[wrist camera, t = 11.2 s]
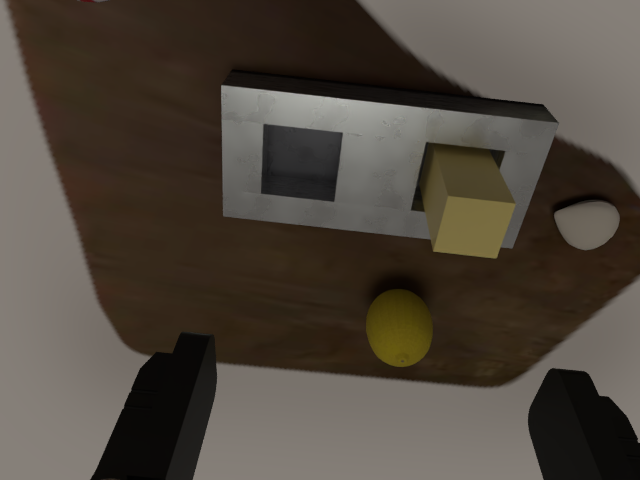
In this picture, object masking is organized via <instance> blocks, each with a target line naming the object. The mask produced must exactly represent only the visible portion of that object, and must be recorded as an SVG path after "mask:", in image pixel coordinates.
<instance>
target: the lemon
mask: <svg viewBox="0 0 640 480" xmlns="http://www.w3.org/2000/svg"><path fill="white" fill-rule="evenodd" d="M366 332H367V336H368V339H369V343H370V345H371V348H372V350H373V351H374V352H375V354H376V355H377V356H378V357H379V358H380V359H381V360H382V361H384V362H385V363H387V364H389V365H393V366H399V367H403V366H409V365H413V364H414V363H416V362H418V361H419V360H421V359H422V358H423V357H424V356H425V354H426V353H427V351H428V350H429V347H430V344H431V340H432V334H433V327H432V318H431V315H430V312H429V310H428V307H427V306H426V304H425V303H424V302H423V300H422V299H421V298H420V297H419V296H417V295H416V294H414V293H413V292H410V291H408V290H404V289H392V290H388V291H386V292H383V293H382V294H380V295H379V296H378V297H377V298H376V299H375V300H374V301H373V302H372V304H371V306H370V308H369V311H368V313H367V318H366Z"/></svg>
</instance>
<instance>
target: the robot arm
mask: <svg viewBox="0 0 640 480" xmlns="http://www.w3.org/2000/svg"><path fill="white" fill-rule="evenodd" d="M216 384H217V369H216V354H215V339H214V335H213V334H202V333H192V332H182V333H181V334H180V336H179V338H178V340H177V343H176V346H175V348H174V351H173V354H172V353H161V352H156V353H155V354H154V355H153V356H152V357H151V358H150V359H149V360H148V361H147V362H146V363H145V364H144V365H143V366H142V367H141V368H140V370H139V372H138V375H137V377H136V379H135V381H134V384H133V386H132V391H131V392H130V393H129V395H128V398H127V400H126V402H125V405H124V409H122V412H121V414H120V416H119V418H118V421H117V423H116V425H115V428H114V430H113V432H112V434H111V437H110V439H109V441H108V444H107V446H106V448H105V451H104V453H103V455H102V458H101V460H100V462H99V465H98V467H97V469H96V471H95V473H94V475H93V476H92V478H91V479H90V480H193V476H194V472H195V469H196V465H197V461H198V458H199V454H200V450H201V447H202V443H203V439H204V435H205V431H206V428H207V424H208V420H209V417H210V413H211V409H212V405H213V402H214V397H215V392H216ZM528 426H529V432H530V436H531V439H532V443H533V446H534V449H535V453H536V456H537V459H538V463H539V466H540V469H541V472H542V475H543V479H544V480H640V443H638V441H637V440H638V438H637V436H636V434H635V432H634V430H633V428H632V426H631V424H630V422H629V420H628V418H627V416H626V415H625V414H624V413H623V412H622V411H621V410H620V409H619V407H618V406H617V405H616V404H615V403H614V402H613V401H612V400H611V399H610V398H609V397H605V396H599V394H598V392H597V390H596V388H595V386H594V383H593V381H592V379H591V377H590V376H589V374H588V373H586V372H584V371H576V370H565V369H555V368H552V369H550V370H549V371H548V373H547V375H546V376H545V378H544V380H543V383H542V384H541V386H540V388H539V390H538V392H537V394H536V396H535V398H534V400H533V402H532V404H531V406H530V409H529V414H528Z"/></svg>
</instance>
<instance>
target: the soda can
mask: <svg viewBox="0 0 640 480" xmlns="http://www.w3.org/2000/svg"><path fill="white" fill-rule="evenodd" d="M78 1H83V2H103V1H109V0H78Z"/></svg>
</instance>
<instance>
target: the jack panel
mask: <svg viewBox="0 0 640 480" xmlns="http://www.w3.org/2000/svg"><path fill="white" fill-rule="evenodd" d="M221 99H222V168H223V216H226V217H235V218H244V219H253V220H262V221H271V222H280V223H289V224H298V225H307V226H316V227H325V228H334V229H343V230H352V231H361V232H370V233H379V234H387V235H396V236H405V237H414V238H423V239H431V238H430V233H429V229H428V224H427V219H426V214H425V209H424V205H423V200H422V195H421V190H420V185H419V183H420V178H421V174H422V170H423V165H424V161H425V156H426V152H427V148H428V143H429V142H431V143H440V144H449V145H458V146H467V147H476V148H485V149H489V151H490V153H491V155H492V157H493V159H494V161H495V163H496V165H497V167H498V169H499V171H500V173H501V175H502V177H503V179H504V181H505V183H506V185H507V187H508V189H509V191H510V193H511V195H512V197H513V199H514V201H515V203H516V205H515V208H514V211H513V214H512V217H511V219H510V222H509V225H508V228H507V230H506V233H505V236H504V239H503V242H502V244H501V247H504V248H513V246H514V243H515V240H516V238H517V235H518V232H519V229H520V227H521V224H522V221H523V219H524V216H525V213H526V211H527V208H528V205H529V203H530V200H531V197H532V194H533V192H534V189H535V186H536V184H537V181H538V178H539V176H540V173H541V170H542V168H543V165H544V162H545V160H546V157H547V154H548V151H549V149H550V146H551V143H552V141H553V138H554V135H555V133H556V130H557V127H558V125H559V122H558V121H557V120H556V119H555V118H554V117H553V115H552V114H551V113H550V112H549V111H548V110H547V108H546V107H545V106H544V105H543V104H534V103H525V102H516V101H508V100H499V99H490V98H481V97H472V96H463V95H454V94H445V93H436V92H427V91H419V90H410V89H401V88H392V87H383V86H374V85H365V84H356V83H347V82H338V81H329V80H321V79H312V78H303V77H294V76H285V75H276V74H267V73H258V72H249V71H240V70H232V71H231V72H230V73H229V75H228V76H227V78H226V79H225V81H224V82H223V83H222V85H221Z"/></svg>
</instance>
